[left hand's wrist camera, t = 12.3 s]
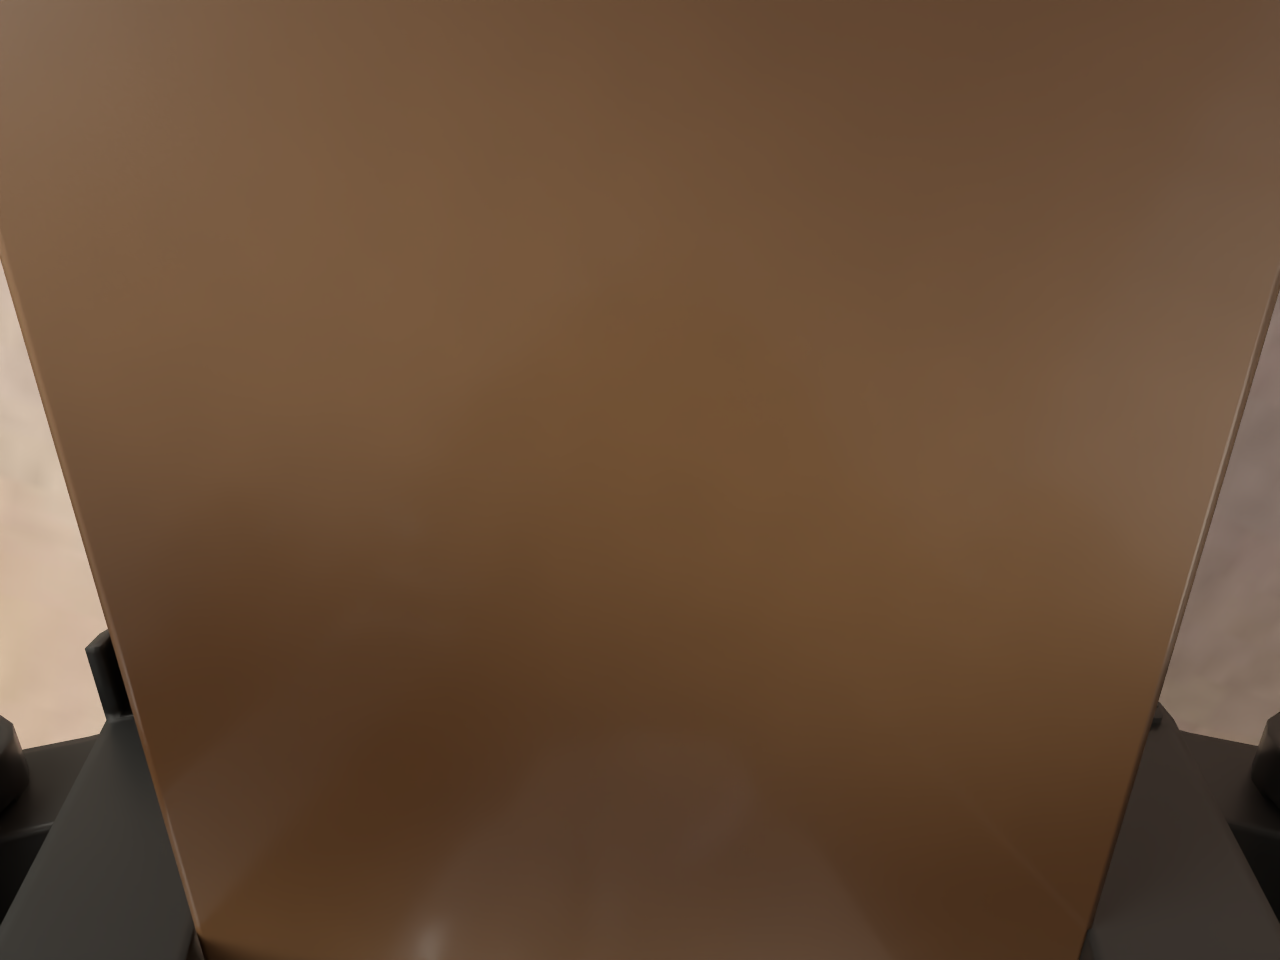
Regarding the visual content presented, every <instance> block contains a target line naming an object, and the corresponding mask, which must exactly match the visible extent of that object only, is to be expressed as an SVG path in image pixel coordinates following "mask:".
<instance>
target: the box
mask: <svg viewBox="0 0 1280 960" xmlns="http://www.w3.org/2000/svg"><path fill="white" fill-rule="evenodd" d="M0 259H1V263H2V266H3V269H4V273H5V276H6V280H7V283H8V287H9V290H10V293H11V297H12V300H13V304H14V307H15V311H16V314H17V318H18V321H19V324H20V328H21V331H22V335H23V338H24V342H25V345H26V348H27V352H28V355H29V359H30V362H31V366H32V369H33V372H34V376H35V379H36V383H37V386H38V390H39V393H40V397H41V400H42V403H43V407H44V410H45V414H46V417H47V421H48V424H49V427H50V431H51V434H52V438H53V441H54V445H55V448H56V452H57V455H58V458H59V462H60V465H61V469H62V472H63V476H64V479H65V482H66V486H67V489H68V493H69V496H70V500H71V503H72V506H73V510H74V513H75V517H76V520H77V524H78V527H79V531H80V534H81V537H82V541H83V544H84V548H85V551H86V555H87V558H88V561H89V565H90V568H91V572H92V575H93V579H94V582H95V585H96V589H97V592H98V596H99V599H100V603H101V606H102V610H103V613H104V616H105V620H106V623H107V627H108V630H109V634H110V637H111V640H112V644H113V647H114V651H115V654H116V658H117V661H118V665H119V668H120V671H121V675H122V678H123V682H124V685H125V689H126V692H127V695H128V699H129V702H130V706H131V709H132V713H133V716H134V719H135V723H136V726H137V730H138V733H139V737H140V740H141V744H142V747H143V750H144V754H145V757H146V761H147V764H148V768H149V771H150V774H151V778H152V781H153V785H154V788H155V792H156V795H157V798H158V802H159V805H160V809H161V812H162V816H163V819H164V823H165V826H166V829H167V833H168V836H169V840H170V843H171V847H172V850H173V853H174V857H175V860H176V864H177V867H178V871H179V874H180V877H181V881H182V884H183V888H184V891H185V895H186V898H187V902H188V905H189V908H190V912H191V915H192V919H193V922H194V926H195V929H196V932H197V936H198V939H199V943H200V946H201V950H202V953H203V957H204V960H1079V958H1080V955H1081V951H1082V948H1083V944H1084V941H1085V937H1086V934H1087V931H1088V930H1089V929H1091V928H1092V924H1093V921H1094V918H1095V914H1096V911H1097V907H1098V904H1099V901H1100V897H1101V894H1102V890H1103V887H1104V884H1105V880H1106V877H1107V873H1108V870H1109V867H1110V863H1111V860H1112V856H1113V853H1114V850H1115V846H1116V843H1117V840H1118V836H1119V833H1120V829H1121V826H1122V823H1123V819H1124V816H1125V812H1126V809H1127V806H1128V802H1129V799H1130V795H1131V792H1132V789H1133V785H1134V782H1135V778H1136V775H1137V772H1138V768H1139V765H1140V761H1141V758H1142V755H1143V751H1144V748H1145V745H1146V741H1147V738H1148V734H1149V731H1150V728H1151V724H1152V721H1153V717H1154V714H1155V711H1156V707H1157V704H1158V700H1159V697H1160V694H1161V690H1162V687H1163V683H1164V680H1165V677H1166V673H1167V670H1168V666H1169V663H1170V660H1171V656H1172V653H1173V650H1174V646H1175V643H1176V639H1177V636H1178V633H1179V629H1180V626H1181V622H1182V619H1183V616H1184V612H1185V609H1186V605H1187V602H1188V599H1189V595H1190V592H1191V588H1192V585H1193V582H1194V578H1195V575H1196V571H1197V568H1198V565H1199V561H1200V558H1201V555H1202V551H1203V548H1204V544H1205V541H1206V538H1207V534H1208V531H1209V527H1210V524H1211V521H1212V517H1213V514H1214V510H1215V507H1216V504H1217V500H1218V497H1219V493H1220V490H1221V487H1222V483H1223V480H1224V477H1225V473H1226V470H1227V466H1228V463H1229V460H1230V456H1231V453H1232V449H1233V446H1234V443H1235V439H1236V436H1237V432H1238V429H1239V426H1240V422H1241V419H1242V415H1243V412H1244V409H1245V405H1246V402H1247V398H1248V395H1249V392H1250V388H1251V385H1252V382H1253V378H1254V375H1255V371H1256V368H1257V365H1258V361H1259V358H1260V354H1261V351H1262V348H1263V344H1264V341H1265V337H1266V334H1267V331H1268V327H1269V324H1270V320H1271V317H1272V314H1273V310H1274V307H1275V303H1276V300H1277V297H1278V293H1279V290H1280V0H0Z"/></svg>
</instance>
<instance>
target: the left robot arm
mask: <svg viewBox="0 0 1280 960" xmlns="http://www.w3.org/2000/svg"><path fill="white" fill-rule="evenodd" d="M85 651H86V654H87V657H88V660H89V664H90V667H91V670H92V674H93V677H94V680H95V683H96V687H97V690H98V693H99V697H100V700H101V703H102V707H103V710H104V713H105V716H106V722H105V724H104V726H103V728H102V730H101V732H100V734H98V735H94V736H90V737H85V738H80V739H75V740H70V741H65V742H60V743H54V744H49V745H44V746H39V747H34V748H29V749H24V750H22V748H21V745H20V743H19V740H18V737H17V734H16V732H15V729H14V726H13V724H12V723H11V722H10V721H8V720H7V719H5V718H4V717H2V716H1V715H0V960H204V957H203V953H202V950H201V946H200V943H199V939H198V936H197V932H196V929H195V926H194V922H193V919H192V915H191V912H190V908H189V905H188V902H187V898H186V895H185V891H184V888H183V884H182V881H181V877H180V874H179V871H178V867H177V864H176V860H175V857H174V853H173V850H172V847H171V843H170V840H169V836H168V833H167V829H166V826H165V823H164V819H163V816H162V812H161V809H160V805H159V802H158V798H157V795H156V792H155V788H154V785H153V781H152V778H151V774H150V771H149V768H148V764H147V761H146V757H145V754H144V750H143V747H142V744H141V740H140V737H139V733H138V730H137V726H136V723H135V719H134V716H133V713H132V709H131V706H130V702H129V699H128V695H127V692H126V689H125V685H124V682H123V678H122V675H121V671H120V668H119V665H118V661H117V658H116V654H115V651H114V647H113V644H112V640H111V637H110V634H109V630H108V629H107V630H106V631H104V632H102V633H100V634H99V635H98V636H97V637H96V638H95V639H94V640H93V641H92V642H91V643H90V644H89V645H88V646H87V647H86V648H85ZM1079 960H1280V712H1279V713H1277V714H1276V715H1274V716H1273V717H1271V718H1270V719H1268V721H1267V724H1266V726H1265V729H1264V732H1263V735H1262V738H1261V740H1260V743H1259V746H1254V745H1249V744H1244V743H1239V742H1234V741H1228V740H1223V739H1218V738H1213V737H1208V736H1203V735H1198V734H1193V733H1188V732H1184V731H1181V730H1179V729H1178V727H1177V725H1176V723H1175V721H1174V719H1173V718H1172V717H1171V716H1170V714H1169V713H1168V712H1167V711H1166V710H1165V708H1164V707H1163V706H1162V705H1161V704H1160V703H1159V702H1158V704H1157V707H1156V711H1155V714H1154V717H1153V721H1152V724H1151V728H1150V731H1149V734H1148V738H1147V741H1146V745H1145V748H1144V751H1143V755H1142V758H1141V761H1140V765H1139V768H1138V772H1137V775H1136V778H1135V782H1134V785H1133V789H1132V792H1131V795H1130V799H1129V802H1128V806H1127V809H1126V812H1125V816H1124V819H1123V823H1122V826H1121V829H1120V833H1119V836H1118V840H1117V843H1116V846H1115V850H1114V853H1113V856H1112V860H1111V863H1110V867H1109V870H1108V873H1107V877H1106V880H1105V884H1104V887H1103V890H1102V894H1101V897H1100V901H1099V904H1098V907H1097V911H1096V914H1095V918H1094V921H1093V924H1092V928H1091V929H1089V930H1088V931H1087V934H1086V937H1085V941H1084V944H1083V948H1082V951H1081V955H1080V958H1079Z"/></svg>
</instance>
